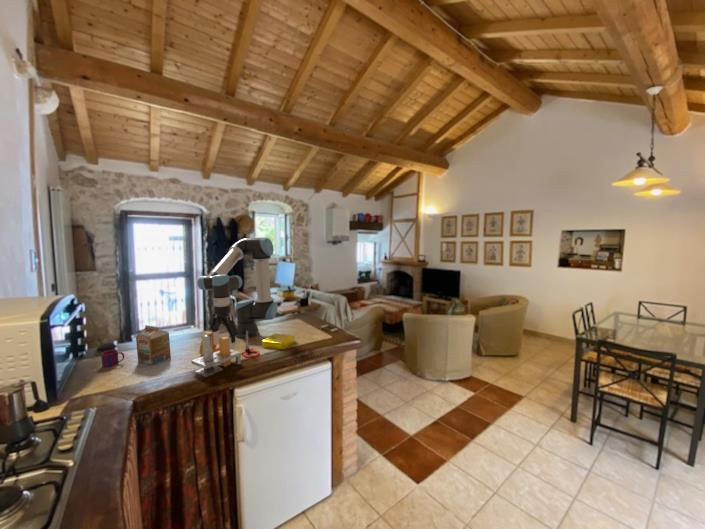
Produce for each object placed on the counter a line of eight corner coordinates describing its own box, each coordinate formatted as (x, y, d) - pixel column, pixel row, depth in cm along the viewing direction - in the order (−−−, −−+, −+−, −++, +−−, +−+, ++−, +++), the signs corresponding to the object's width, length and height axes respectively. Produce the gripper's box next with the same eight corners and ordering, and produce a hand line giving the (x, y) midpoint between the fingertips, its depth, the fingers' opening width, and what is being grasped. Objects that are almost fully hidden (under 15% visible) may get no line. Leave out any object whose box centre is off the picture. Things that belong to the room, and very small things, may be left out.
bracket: (210, 356, 166) (209, 335, 165) (199, 355, 168) (198, 334, 167) (224, 349, 176) (222, 329, 175) (213, 348, 178) (212, 328, 177)
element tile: (295, 341, 188) (295, 334, 188) (282, 350, 174) (282, 342, 174) (275, 339, 193) (274, 332, 193) (260, 347, 179) (260, 340, 178)
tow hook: (262, 355, 168) (253, 350, 174) (262, 332, 166) (252, 328, 172) (249, 360, 162) (239, 355, 168) (248, 336, 160) (239, 332, 166)
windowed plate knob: (227, 358, 162) (225, 326, 161) (241, 363, 156) (239, 329, 154) (192, 372, 147) (189, 336, 145) (206, 378, 140) (203, 340, 138)
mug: (109, 362, 161) (107, 350, 160) (128, 361, 161) (127, 349, 160) (98, 367, 154) (97, 354, 154) (118, 367, 154) (117, 354, 154)
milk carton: (138, 363, 159) (135, 328, 157) (157, 355, 169) (154, 322, 167) (151, 366, 155) (148, 330, 153) (170, 358, 165) (168, 324, 163)
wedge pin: (226, 362, 157) (225, 336, 156) (230, 364, 155) (229, 337, 154) (220, 365, 154) (218, 338, 153) (224, 366, 152) (222, 339, 151)
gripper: (201, 304, 156) (203, 344, 158) (230, 309, 142) (232, 353, 144) (214, 301, 162) (217, 339, 164) (244, 306, 148) (246, 348, 150)
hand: (224, 346), depth 154 cm, fingers open, 13 cm apart
